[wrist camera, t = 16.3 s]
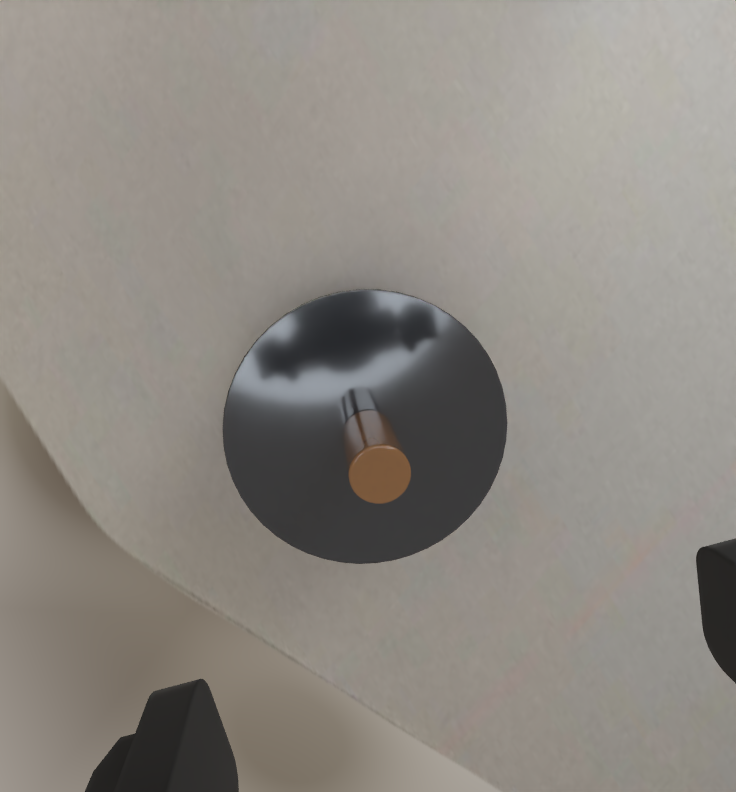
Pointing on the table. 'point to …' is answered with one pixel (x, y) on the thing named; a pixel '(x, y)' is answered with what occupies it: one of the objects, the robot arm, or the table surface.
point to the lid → (364, 426)
